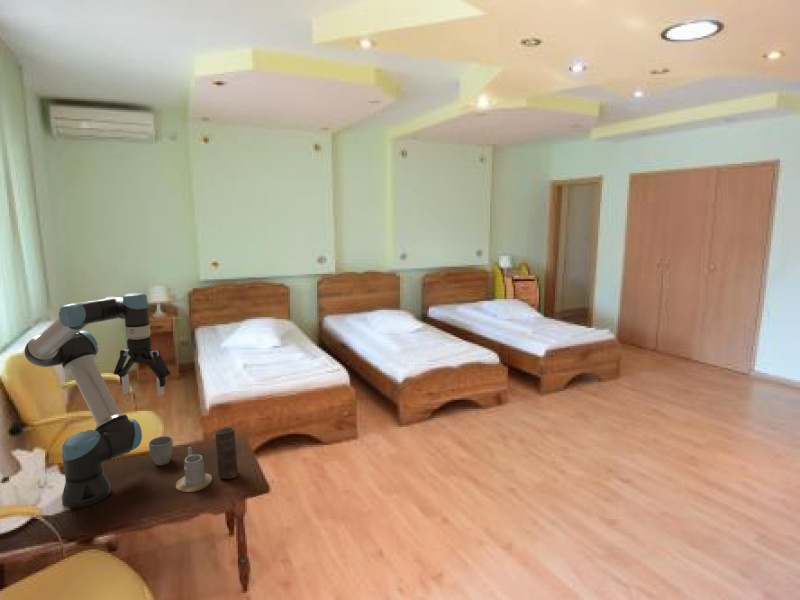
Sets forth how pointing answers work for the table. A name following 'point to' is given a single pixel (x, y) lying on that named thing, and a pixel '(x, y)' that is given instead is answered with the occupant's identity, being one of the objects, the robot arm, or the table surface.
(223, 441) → the candle
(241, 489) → the table surface
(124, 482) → the table surface
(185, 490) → the coaster
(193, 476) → the mug
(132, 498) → the table surface
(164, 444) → the mug
